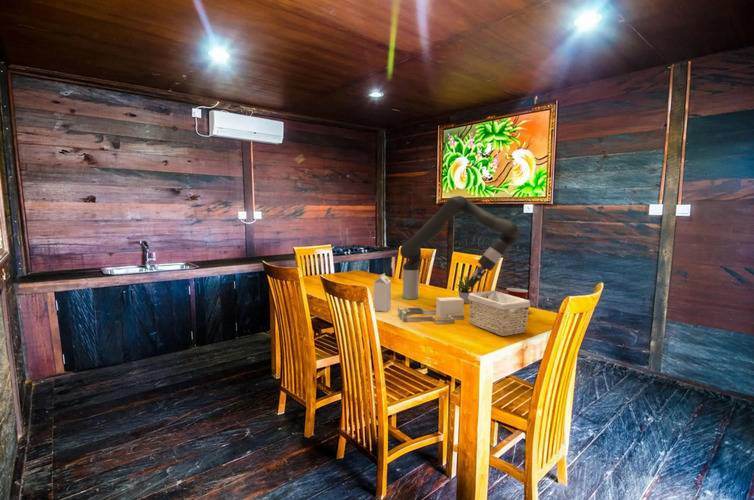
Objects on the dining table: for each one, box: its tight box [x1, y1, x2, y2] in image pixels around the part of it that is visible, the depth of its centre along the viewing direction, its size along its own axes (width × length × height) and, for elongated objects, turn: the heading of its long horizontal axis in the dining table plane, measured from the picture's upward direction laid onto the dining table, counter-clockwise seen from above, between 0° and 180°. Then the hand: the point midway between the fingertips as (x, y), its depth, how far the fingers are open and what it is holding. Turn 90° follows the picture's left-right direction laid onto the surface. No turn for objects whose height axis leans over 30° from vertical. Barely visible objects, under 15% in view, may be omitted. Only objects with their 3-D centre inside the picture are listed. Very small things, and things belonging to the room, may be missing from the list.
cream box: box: [435, 296, 465, 319], centre depth 194 cm, size 6×12×9 cm, turn 100°
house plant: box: [455, 275, 476, 304], centre depth 221 cm, size 14×14×16 cm
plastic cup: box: [506, 287, 529, 300], centre depth 203 cm, size 11×11×12 cm
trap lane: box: [397, 306, 465, 325], centre depth 192 cm, size 23×30×4 cm
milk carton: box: [373, 272, 392, 313], centre depth 204 cm, size 7×7×19 cm
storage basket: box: [468, 290, 531, 337], centre depth 175 cm, size 24×16×15 cm
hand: (469, 285), depth 188 cm, fingers open, 8 cm apart
